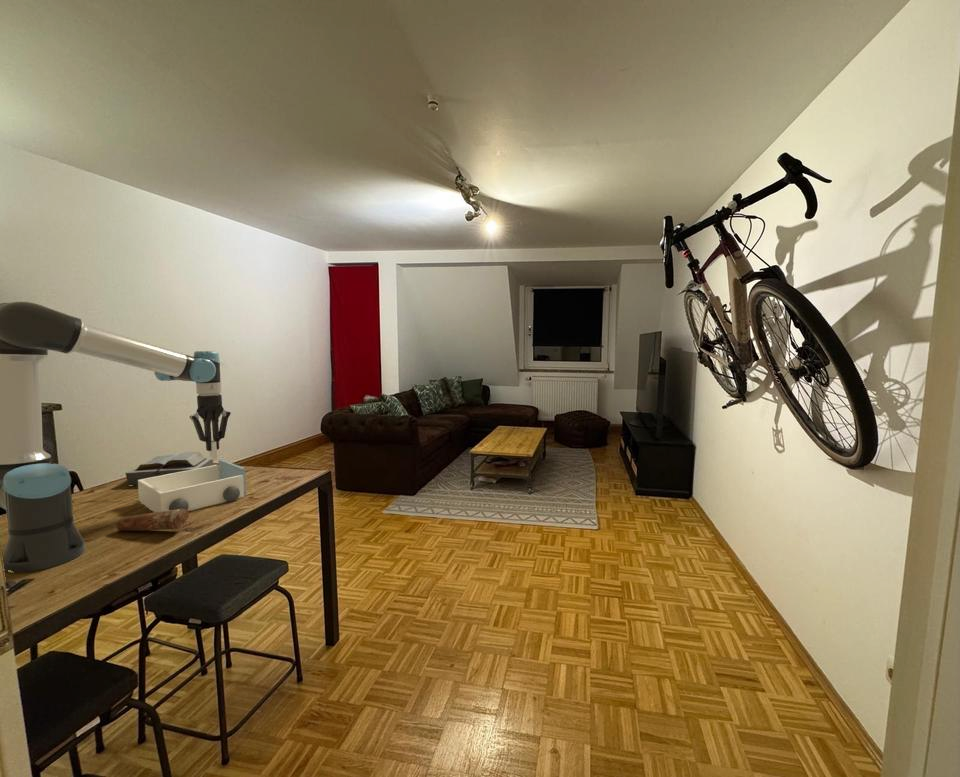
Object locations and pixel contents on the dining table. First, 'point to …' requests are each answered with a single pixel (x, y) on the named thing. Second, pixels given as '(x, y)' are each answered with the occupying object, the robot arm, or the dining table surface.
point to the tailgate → (231, 471)
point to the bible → (167, 466)
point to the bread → (154, 521)
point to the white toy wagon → (189, 489)
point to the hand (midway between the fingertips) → (213, 458)
